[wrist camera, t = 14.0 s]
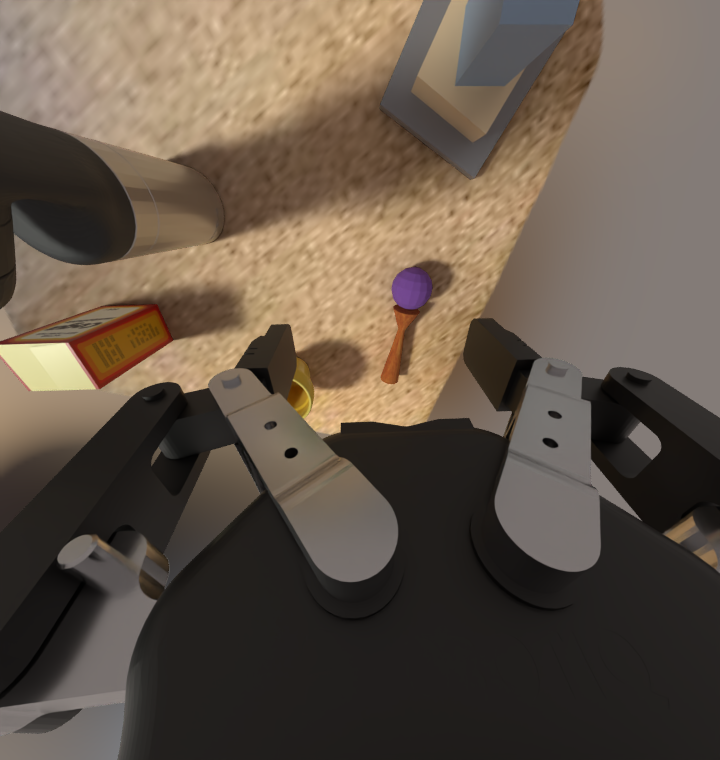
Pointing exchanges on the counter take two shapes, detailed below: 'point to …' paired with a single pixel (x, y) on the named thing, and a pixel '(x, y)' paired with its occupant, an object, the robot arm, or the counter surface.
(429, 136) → the plate
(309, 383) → the plant pot
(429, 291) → the kendama
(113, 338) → the baking soda box
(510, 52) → the slate column
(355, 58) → the counter surface
